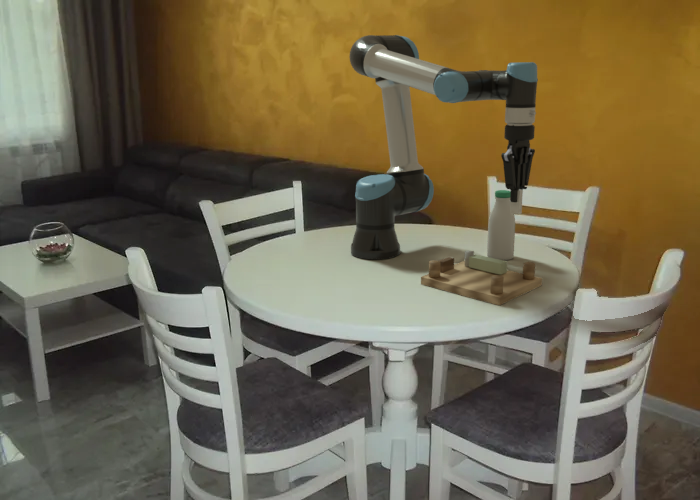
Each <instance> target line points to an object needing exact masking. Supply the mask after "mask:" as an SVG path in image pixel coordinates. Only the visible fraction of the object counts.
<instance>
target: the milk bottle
mask: <svg viewBox="0 0 700 500" xmlns="http://www.w3.org/2000/svg"><path fill="white" fill-rule="evenodd" d="M510 194H511V190H509V189H498V190H496V191H495V192H494V199H495V202H494V204H493V207H492V209H491V212H490V213H489V218H488V225H487V226H488V227H487V246H486V249H487V250H486V255H487V256H486V257H490V258H494V259H499V260H503V261H510V260H512V259H513V258H514V255H515V254H514V252H515V239H516V238H515V235H516V217H515V214H511V213H510Z"/></svg>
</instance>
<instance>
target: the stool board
mask: <svg viewBox="0 0 700 500" xmlns="http://www.w3.org/2000/svg"><path fill="white" fill-rule="evenodd" d="M542 284H543V277H539V276H536V263H535V262H533V261H524V262H523V265H522V273H521V272H517V271H513V270H508V269H507V272H506V273H504V274H501V275H499V274H495V273H491V272H487V271H483V270H478V269H474V268H470V267H466V266H465V260H462V261H461V262H457V263H455V258H454V257H450V256H447V257H445V258H442V259H438V260H436V259H435V260H430V261H428V274H425V275H421V276H420V285H422V286H427V287H431V288H434V289H438V290H441V291H446V292H449V293H453V294H456V295H460V296H463V297H467V298H471V299H474V300H478V301H482V302H485V303H488V304H493V305H496V306H501V305H504V304H506V303H508V302H510V301H511V300H514V299H516V298H519V297H520V296H523V295H525V294H526V293H528V292H529V293H530V292H531V291H533V290H535V289H537V288H540V287H541V286H542Z"/></svg>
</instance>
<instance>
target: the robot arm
mask: <svg viewBox="0 0 700 500" xmlns="http://www.w3.org/2000/svg"><path fill="white" fill-rule="evenodd" d="M419 54H420V53H419V50H418V47H417V45H416V44H415V42H414V41H413V40H411V38H409V37H407V36H402V35H399V34H395V35H394V34H393V35H384V34H383V35H373V34H371V35H370V34H369V35H364V36H361V37H360V38H358V39H357V40H356V41H355V42H354V43H353V44H352V46H351V47H350V51H349V62H350V65H351V66H352V68H353V70H354V71H355V72H356V73H358V74H359V75H361V76H365V77H367V78H370V79H374V81H375V85H377V86H378V87H379V88H380V90H381V96H382V97H381V98H382V104H383V113H384V123H385V129H386V138H387V146H388V147H387V148H388V155H389V156H388V157H389V164H390V167H389V168H388V170H387V171H386V174H385V173H384V174H383V173H382V174H380V173H379V174H373V175H372V174H371V175H367V176H364V177H362V178H360V179H358V180H357V181H356V185H355V192H354V193H355V195H354V197H355V224H356V225H355V226H356V227H355V231H354V235H353V239H352V243H351V245H350V254H351V256H353V257H356V258H357V259H358V258H359V259H363V260H386V259H391V258H395V257H397V256H399V255H400V254H401V245H400V243H399V240H398V236H397V232H396V230H395V229H396V228H395V217H396V216H401V215H406V214H410V213H417V212H420V211H422V210H425V209H426V208H428V206H429V205H430V204H431V202H432V200H433V198H434V191H435V189H434V188H435V186H434V183H433V181H432V179H430V176H429V175H427V174H426V173H425V171H424V167H423V166H422V165H421V164H420V163H419V160H418V159H419V158H418V151H417V149H418V148H417V142H416V133H415V125H414V124H415V123H414V116H413V107H412V106H413V105H412V97H411V89H410V88H413V89H416V90H418V91H419V90H420V91H422V92H425V93H427V94H431V95H435V97H437V100H439V101H440V102H442V103H449V104H456V103H464V102H466V103H467V102H477V101H479V102H480V101H490V100H491V101H494V100H495V101H505V111H504V112H505V114H504V122H505V123H506V124H505V126H504V139H505V140H507V142H508V143H507V147H506V149H507V151H506V152H502V153H501V155H500V156H501V159H502V162H503V163H502V165H503V173H504V175H503V176H504V183H505V184H504V185H505V188H506V190H509V191H511V194H510V213H511V214H514V215H522V211H523V192H524V191H523V190H527V189H528V185H529V181H530V175H531V170H532V163H533V158H534V155H535V152H536V149H534V148H531V144H530V143H531V140H534V138H535V128H536V127H535V125H534V123H535V122H536V121H535V120H536V114H537V112H536V101H537V100H536V99H537V89H538V88H537V87H538V65H537V63H536V62H534V61H531V62H526V61H525V62H524V61H523V62H509V63H508V64H507V67H506V70H487V69H483V70H482V69H480V70H472V71H471V70H470V71H469V70H468V71H466V70H465V71H464V70H463V71H461V70H458V69H454V68H451V67H450V68H449V67H446V66H443V65H440V64H436V63H433V62H429V61H426V60H422V59H420V55H419Z"/></svg>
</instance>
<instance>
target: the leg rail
mask: <svg viewBox="0 0 700 500" xmlns="http://www.w3.org/2000/svg"><path fill="white" fill-rule="evenodd" d="M464 261H465V266H466V267H470V268H474V269H478V270H483V271H487V272H491V273H495V274H499V275H501V274H504V273H506V272H507V270H508V260H499V259H494V258H490V257H488V256H485V255H480V254H475V252H474V250H465V251H464Z"/></svg>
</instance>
